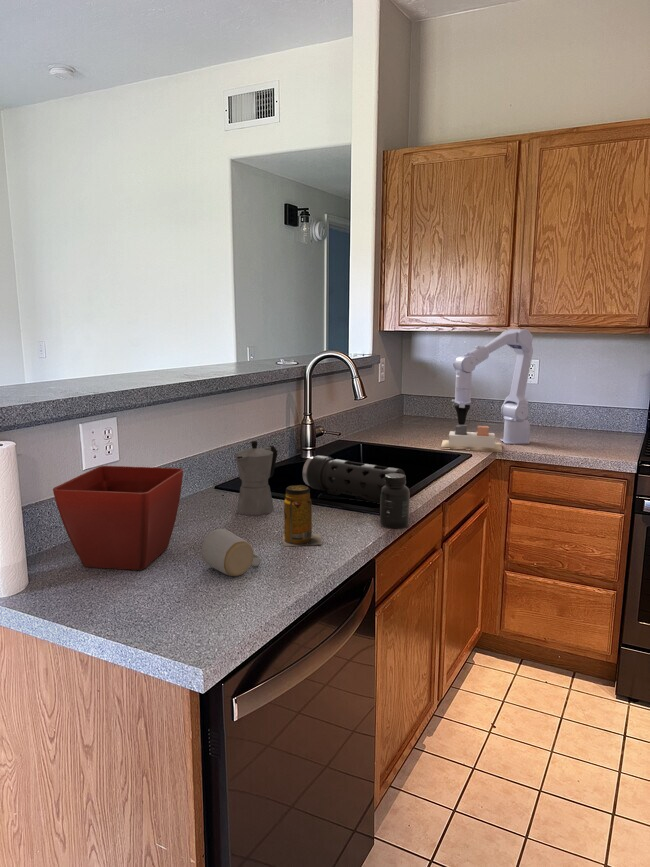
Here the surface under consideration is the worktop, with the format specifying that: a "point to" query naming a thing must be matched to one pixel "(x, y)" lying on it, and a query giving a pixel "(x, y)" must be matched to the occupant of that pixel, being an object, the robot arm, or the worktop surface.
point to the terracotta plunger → (483, 431)
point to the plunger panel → (471, 440)
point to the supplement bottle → (394, 502)
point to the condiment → (298, 518)
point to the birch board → (496, 447)
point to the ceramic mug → (228, 553)
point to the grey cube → (461, 429)
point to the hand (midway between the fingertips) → (461, 424)
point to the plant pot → (120, 514)
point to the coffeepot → (255, 479)
